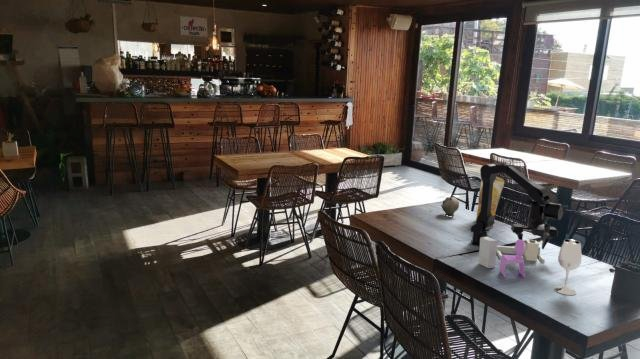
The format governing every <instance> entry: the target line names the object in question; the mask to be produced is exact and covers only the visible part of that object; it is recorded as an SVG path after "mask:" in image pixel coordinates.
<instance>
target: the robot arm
mask: <svg viewBox="0 0 640 359" xmlns="http://www.w3.org/2000/svg"><path fill="white" fill-rule="evenodd" d="M479 171H480V178H481V179H482V181H483V187H482V199H481V210H480V213H479V215H478V217H477V216H476V217H477V220H476V219H475V224H473V225H472V226H470V232H471V233H472V236H471V239H470V242H471V244H472V245H473V246H480V238H481V237H489V236H488V232H489V230H490V229H491V227H492V226H493V227H494V225H495V219H496V216H495V215H494V216H492V214H491V203H492V192H493V183H494V181H495V179H496V177H498V174H501V173H504V174H505V175H507V177H509V178H510V179H511V180H512V181H514V182H515V183H516V184H518V185H519V186H520V187H521V188H522V189H523V190H524V191H525V193H526V194H527V195H528V197H529V199H528V200H527V201H525V204H528V205H530V206H529V212H528V222H527V223H526V224H527V226H523V225H522V224H519V223H512V224H511V226H510V230H511V232H512V233H514V234H515V235H516V236H517V238H518V240H523V236H524V233H523V232H531V233H532V235H533V236H541V237H542V243H541V249H542V250H544V249H545V247H546V246H547V244H548V242H549V241H550V240H551V239H553V238H555V237H559V231H558V229H557V228H556V227H555V226H550V224H544V217H545V218H548V219H552V220H557V221H561V219H562V218H563V216H564V210H563V204H561V203H554V202H553V201H552V199H551V198H550V196H549V193H548V192H549V191H548V189H547V187H545V186H543V185H541V184H540V183H539V184H538V183H536V182H534V181H532V180H531V179H529V178H528V177H527V176H525V175H524V174H523V173H522V172H520V171H519V170H517V169H516V168H515V167H514V166H513V165H512V164H511V163H503V164H495V163H488V164H483V165H482V166H481V167H480V169H479ZM481 179H480V180H481Z"/></svg>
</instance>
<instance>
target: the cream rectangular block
mask: <svg viewBox="0 0 640 359" xmlns="http://www.w3.org/2000/svg"><path fill="white" fill-rule="evenodd" d="M538 247H540V243H539V242H538V241H537V240H534V239H525V251H524V255H523V258H524V259H525V260H526V261H537V260H538V257H537V254H538Z"/></svg>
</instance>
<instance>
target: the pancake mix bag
mask: <svg viewBox="0 0 640 359" xmlns="http://www.w3.org/2000/svg"><path fill="white" fill-rule="evenodd" d="M505 182H506V180H505V179H504V178H503V177H501V176H500V177H499V176H497V177H496V179H495V181H494V183H493V192H492V203H491V214H492V216H495V215H496V211H497V207H498V204H499V201H500V199H501V196H502V195H501V194H502V191H503V189H504V186H505ZM482 187H483V181H482V179H480V186H479V193H478V204H477V212H476V217H475V218H476V219H475V221H476V220H477V217H478V215H479V213H480V210H481V199H482ZM491 228H492V229H493V228H494V225H493V226H492V227H491ZM491 228H490V229H491Z"/></svg>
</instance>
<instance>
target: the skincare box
mask: <svg viewBox="0 0 640 359" xmlns="http://www.w3.org/2000/svg"><path fill="white" fill-rule="evenodd" d="M497 245H498V240H497V239H494V238H491V237H489V236H488V237H481V238H480V245H479V251H478V265H481V266H483V267H485V268H487V269H493V268H496V259H497V253H496V249H497Z"/></svg>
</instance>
